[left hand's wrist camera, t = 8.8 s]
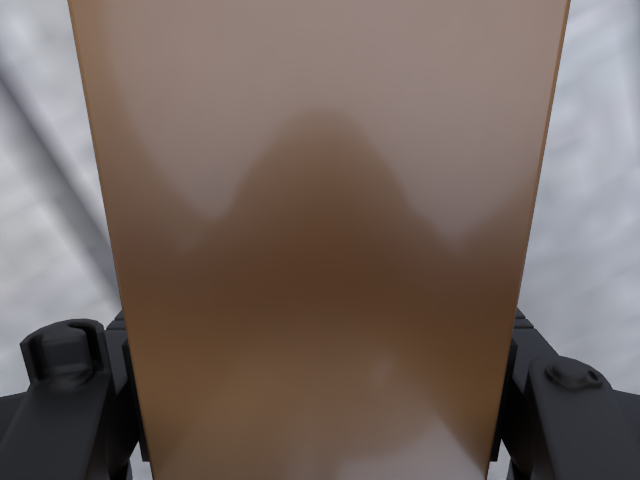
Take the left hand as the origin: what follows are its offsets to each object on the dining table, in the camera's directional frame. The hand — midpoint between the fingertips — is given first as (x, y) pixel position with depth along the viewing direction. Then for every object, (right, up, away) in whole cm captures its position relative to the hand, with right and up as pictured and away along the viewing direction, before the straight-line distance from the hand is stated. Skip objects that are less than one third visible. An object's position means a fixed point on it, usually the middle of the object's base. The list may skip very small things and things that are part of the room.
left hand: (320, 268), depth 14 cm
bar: (0, +31, -11) cm, 33 cm away
